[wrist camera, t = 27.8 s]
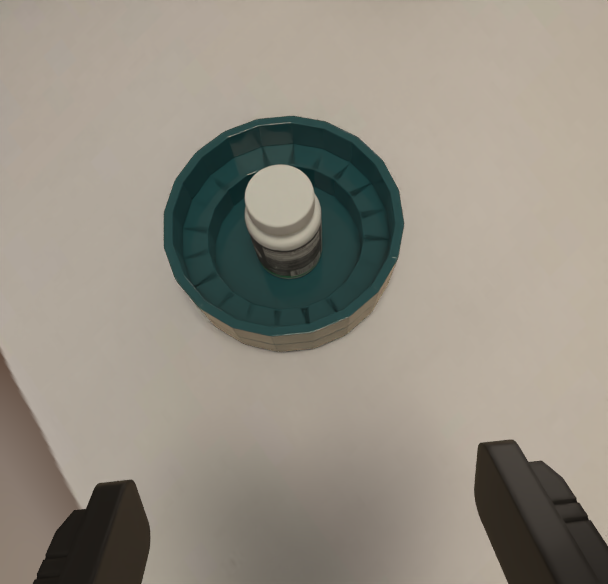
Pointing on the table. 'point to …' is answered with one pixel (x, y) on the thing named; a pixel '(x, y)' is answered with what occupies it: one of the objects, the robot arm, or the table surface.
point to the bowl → (240, 250)
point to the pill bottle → (284, 221)
